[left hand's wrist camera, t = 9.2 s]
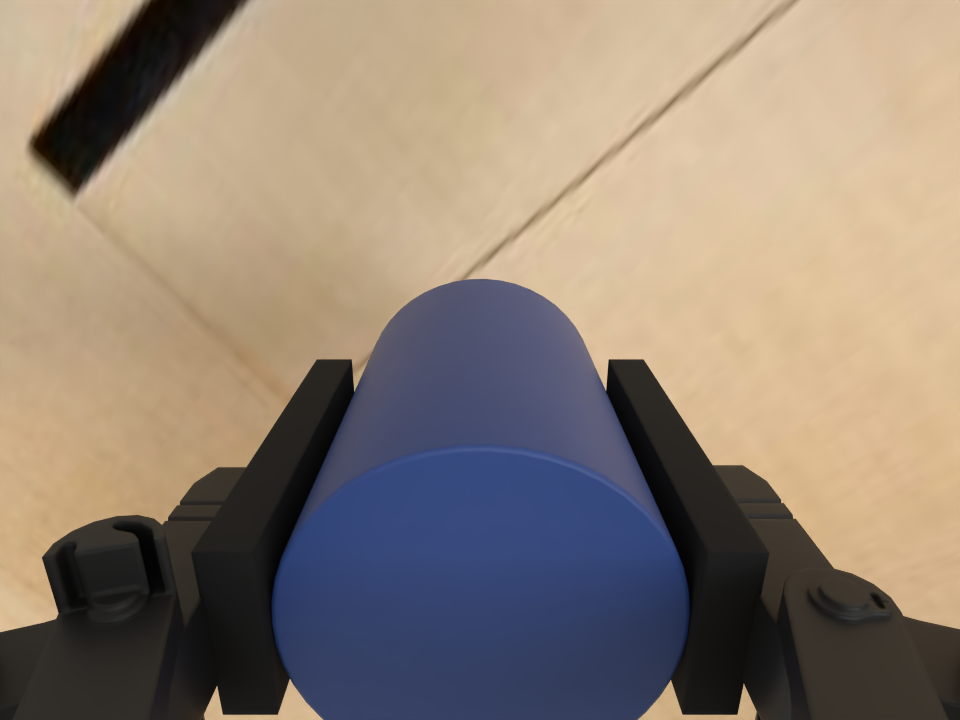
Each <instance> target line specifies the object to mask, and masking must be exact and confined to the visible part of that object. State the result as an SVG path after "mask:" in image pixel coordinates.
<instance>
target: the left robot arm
mask: <svg viewBox="0 0 960 720" xmlns="http://www.w3.org/2000/svg"><path fill="white" fill-rule="evenodd" d="M606 393H607V395H608V397H609V399H610V402H611V404H612V406H613V408H614V411H615V413H616V415H617V417H618V419H619V422H620V424H621V426H622V428H623V431H624V433H625V435H626V437H627V440H628V442H629V444H630V446H631V449H632V451H633V453H634V455H635V457H636V460H637V462H638V464H639V466H640V469H641V471H642V473H643V475H644V478H645V480H646V482H647V484H648V487H649V489H650V491H651V493H652V495H653V498H654V500H655V502H656V504H657V507H658V509H659V511H660V513H661V516H662V518H663V520H664V522H665V525H666V527H667V529H668V531H669V534H670V536H671V538H672V540H673V542H674V545H675V547H676V549H677V552H678V554H679V557H680V559H681V562H682V564H683V566H684V569H685V574H686V578H687V583H688V587H689V596H690V619H689V628H688V636H687V640H686V643H685V647H684V651H683V654H682V657H681V660H680V662H679V664H678V666H677V668H676V671H675V673H674V675H673V677H672V678H671V681H672V684H673V687H674V690H675V693H676V696H677V699H678V702H679V705H680V708H681V711H682V714H683V715H737V714H738V709H739V704H740V699H741V694H742V689H743V684H744V685H745V687H746V689H747V691H748V693H749V695H750V698H751V700H752V702H753V704H754V706H755V709H756V711H757V713H756V718H755V720H960V629H955V628H951V627H946V626H942V625H937V624H933V623H928V622H923V621H919V620H915V619H912V618H908V617H905V616H903V615H902V613H901V611H900V610H899V608H898V607H897V606H896V604H895V603H894V601H893V600H892V599H891V597H889V596H888V595H887V594H886V593H884V592H883V591H882V590H880V589H879V588H878V587H877V586H875V585H874V584H872V583H870V582H868V581H866V580H864V579H862V578H860V577H858V576H856V575H854V574H852V573H848V572H844V571H841V570H837V569H834V568H833V567H832V565H831V564H830V563H829V561H828V560H827V559H826V558H825V556H824V555H823V554H822V552H821V551H820V550H819V548H818V547H817V546H816V545H815V543H814V542H813V541H812V539H811V538H810V537H809V535H808V534H807V533H806V532H805V530H804V529H803V528H802V526H801V525H800V524H799V523H798V521H797V520H796V519H793V515H792V513H791V512H790V511H789V510H788V508H787V507H786V506H785V504H784V503H781V499H780V498H779V497H778V495H777V494H776V493H775V491H774V490H773V489H772V487H771V486H770V485H769V484H768V482H767V481H766V480H764V479H763V478H761V477H760V476H758V475H757V474H755V473H753V472H752V471H750V470H749V469H747V468H746V467H744V466H743V465H712V464H711V462H710V461H709V459H708V458H707V456H706V454H705V453H704V451H703V450H702V448H701V447H700V445H699V444H698V442H697V441H696V439H695V438H694V436H693V435H692V433H691V432H690V430H689V428H688V427H687V425H686V424H685V422H684V421H683V419H682V418H681V416H680V415H679V413H678V412H677V410H676V409H675V407H674V405H673V404H672V402H671V401H670V399H669V398H668V396H667V395H666V393H665V392H664V390H663V389H662V387H661V386H660V384H659V383H658V381H657V379H656V378H655V376H654V375H653V373H652V372H651V370H650V369H649V367H648V366H647V364H646V363H645V361H644V360H609V363H608V376H607V389H606ZM353 395H354V384H353V371H352V360H316V362H315V363H314V365H313V366H312V368H311V369H310V371H309V372H308V374H307V375H306V377H305V379H304V380H303V382H302V383H301V385H300V386H299V388H298V389H297V391H296V392H295V394H294V395H293V397H292V398H291V400H290V402H289V403H288V405H287V406H286V408H285V409H284V411H283V412H282V414H281V415H280V417H279V418H278V420H277V421H276V423H275V425H274V426H273V428H272V429H271V431H270V432H269V434H268V435H267V437H266V438H265V440H264V441H263V443H262V444H261V446H260V448H259V449H258V451H257V452H256V454H255V455H254V457H253V458H252V460H251V461H250V463H249V464H248V466H247V467H218V468H216V469H215V470H213V471H212V472H210V473H209V474H207V475H206V476H204V477H203V478H201V479H200V480H198V481H197V482H195V483H194V484H193V485H192V487H191V488H190V489H189V491H188V492H187V493H186V495H185V496H184V497H183V499H182V500H181V501H180V505H177V506H176V508H175V509H174V510H173V512H172V513H171V514H170V516H169V517H168V521H165V522H164V523H163V525H161V524H160V523H159V522H157V521H156V520H155V519H153V518H148V517H144V516H139V515H132V516H116V517H112V518H108V519H104V520H100V521H95V522H93V523H90V524H88V525H86V526H83V527H81V528H79V529H76V530H74V531H72V532H70V533H69V534H67V535H66V536H64V537H63V538H61V539H60V540H58V541H57V542H55V543H54V544H53V545H52V546H51V547H50V549H49V550H48V551H47V552H46V553H45V555H44V556H43V557H42V559H43V563H44V566H45V569H46V573H47V576H48V579H49V582H50V586H51V589H52V592H53V596H54V599H55V602H56V606H57V609H58V612H59V614H58V616H57V618H56V619H55V620H52V621H48V622H45V623H41V624H36V625H31V626H27V627H22V628H18V629H13V630H9V631H4V632H0V720H205V718H204V713H205V711H206V708H207V706H208V704H209V702H210V700H211V698H212V695H213V693H214V691H215V689H216V687H218V692H219V697H220V702H221V707H222V712H223V715H278V712H279V709H280V706H281V703H282V700H283V697H284V694H285V691H286V688H287V685H288V682H289V679H290V677H289V675H288V674H287V672H286V670H285V668H284V666H283V663H282V661H281V658H280V655H279V652H278V650H277V647H276V642H275V637H274V632H273V626H272V609H271V599H272V592H273V585H274V579H275V575H276V572H277V569H278V566H279V563H280V560H281V557H282V554H283V552H284V550H285V548H286V545H287V543H288V541H289V539H290V536H291V534H292V532H293V530H294V527H295V525H296V523H297V521H298V518H299V516H300V514H301V512H302V509H303V507H304V505H305V503H306V500H307V498H308V496H309V494H310V491H311V489H312V487H313V485H314V482H315V480H316V478H317V476H318V473H319V471H320V469H321V467H322V464H323V462H324V460H325V458H326V455H327V453H328V451H329V449H330V446H331V444H332V442H333V440H334V437H335V435H336V433H337V431H338V428H339V426H340V424H341V422H342V419H343V417H344V415H345V413H346V410H347V408H348V406H349V404H350V401H351V399H352V397H353Z"/></svg>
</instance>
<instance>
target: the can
mask: <svg viewBox="0 0 960 720" xmlns="http://www.w3.org/2000/svg"><path fill="white" fill-rule="evenodd" d="M271 609H272V626H273V632H274V637H275V642H276V647H277V650H278V652H279V655H280V658H281V661H282V663H283V666H284V668H285V670H286V672H287V674H288V675H289V677H290V679H291V681H292V683H293V685H294V686H295V687H296V689H297V690H298V692H299V693H300V694H301V696H302V697H303V698H304V700H305V701H306V702H307V703H308V704H309V705H310V707H311V708H312V709H313V710H314V711H315V712H316V713H317V714H318V715H319V716H320V717H321V718H322V719H323V720H638V719H639V718H640V717H641V716H642V715H643V714H644V713H645V712H647V710H648V709H649V708H650V707H651V706H652V705H653V703H654V702H655V701H656V700H657V699H658V698H659V696H660V695H661V694H662V692H663V691H664V689H665V688H666V686H667V685H668V683H669V682H670V680H671V678H672V677H673V675H674V673H675V671H676V668H677V666H678V664H679V662H680V660H681V657H682V654H683V651H684V647H685V643H686V640H687V636H688V628H689V619H690V596H689V587H688V583H687V578H686V574H685V569H684V566H683V564H682V562H681V559H680V557H679V554H678V552H677V549H676V547H675V545H674V542H673V540H672V538H671V536H670V534H669V531H668V529H667V527H666V525H665V522H664V520H663V518H662V516H661V513H660V511H659V509H658V507H657V504H656V502H655V500H654V498H653V495H652V493H651V491H650V489H649V487H648V484H647V482H646V480H645V478H644V475H643V473H642V471H641V469H640V466H639V464H638V462H637V460H636V457H635V455H634V453H633V451H632V449H631V446H630V444H629V442H628V440H627V437H626V435H625V433H624V431H623V428H622V426H621V424H620V422H619V419H618V417H617V415H616V413H615V411H614V408H613V406H612V404H611V402H610V399H609V397H608V395H607V393H606V390H605V388H604V386H603V384H602V381H601V379H600V377H599V375H598V373H597V370H596V368H595V366H594V364H593V361H592V359H591V357H590V355H589V352H588V350H587V348H586V346H585V343H584V341H583V339H582V337H581V336H580V334H579V332H578V331H577V329H576V327H575V326H574V325H573V323H572V322H571V321H570V320H569V318H568V317H567V316H566V315H565V314H564V313H563V312H562V311H561V310H560V309H559V308H558V307H557V306H556V305H554V304H553V303H552V302H550V301H549V300H547V299H546V298H545V297H543V296H541V295H539V294H537V293H536V292H534V291H532V290H530V289H527V288H525V287H522V286H519V285H517V284H513V283H509V282H504V281H499V280H489V279H469V280H463V281H456V282H452V283H448V284H445V285H441V286H438V287H436V288H434V289H432V290H429V291H427V292H425V293H423V294H421V295H420V296H418V297H417V298H415V299H413V300H412V301H410V302H409V303H408V304H407V305H406V306H404V307H403V308H402V309H401V310H400V311H399V312H398V313H397V314H396V315H395V316H394V317H393V318H392V319H391V320H390V322H389V323H388V324H387V326H386V327H385V329H384V330H383V332H382V333H381V335H380V337H379V339H378V341H377V343H376V345H375V347H374V350H373V352H372V354H371V356H370V359H369V361H368V363H367V365H366V368H365V370H364V372H363V374H362V377H361V379H360V381H359V383H358V386H357V388H356V390H355V392H354V395H353V397H352V399H351V401H350V404H349V406H348V408H347V410H346V413H345V415H344V417H343V419H342V422H341V424H340V426H339V428H338V431H337V433H336V435H335V437H334V440H333V442H332V444H331V446H330V449H329V451H328V453H327V455H326V458H325V460H324V462H323V464H322V467H321V469H320V471H319V473H318V476H317V478H316V480H315V482H314V485H313V487H312V489H311V491H310V494H309V496H308V498H307V500H306V503H305V505H304V507H303V509H302V512H301V514H300V516H299V518H298V521H297V523H296V525H295V527H294V530H293V532H292V534H291V536H290V539H289V541H288V543H287V545H286V548H285V550H284V552H283V554H282V557H281V560H280V563H279V566H278V569H277V572H276V575H275V579H274V585H273V592H272V599H271Z"/></svg>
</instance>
